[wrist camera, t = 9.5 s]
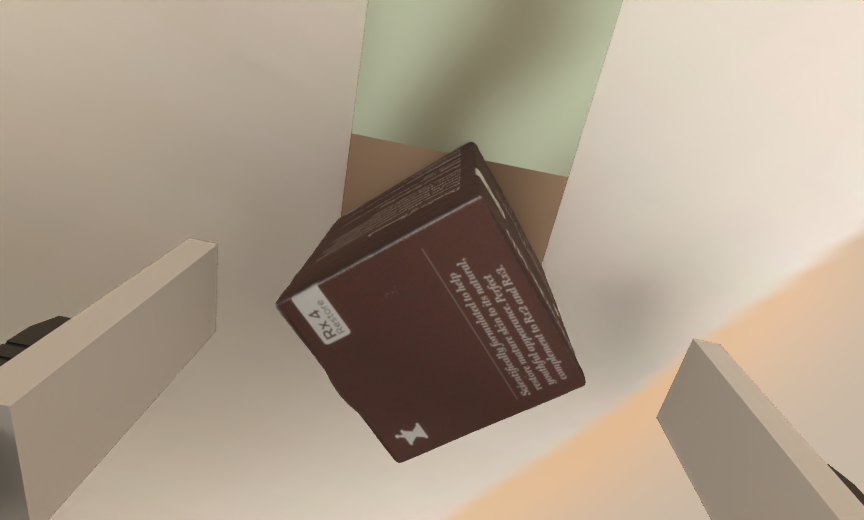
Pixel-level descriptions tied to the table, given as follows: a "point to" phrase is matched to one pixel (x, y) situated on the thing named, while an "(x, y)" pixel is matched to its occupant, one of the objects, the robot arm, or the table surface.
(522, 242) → the box
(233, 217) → the table surface
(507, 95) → the track
